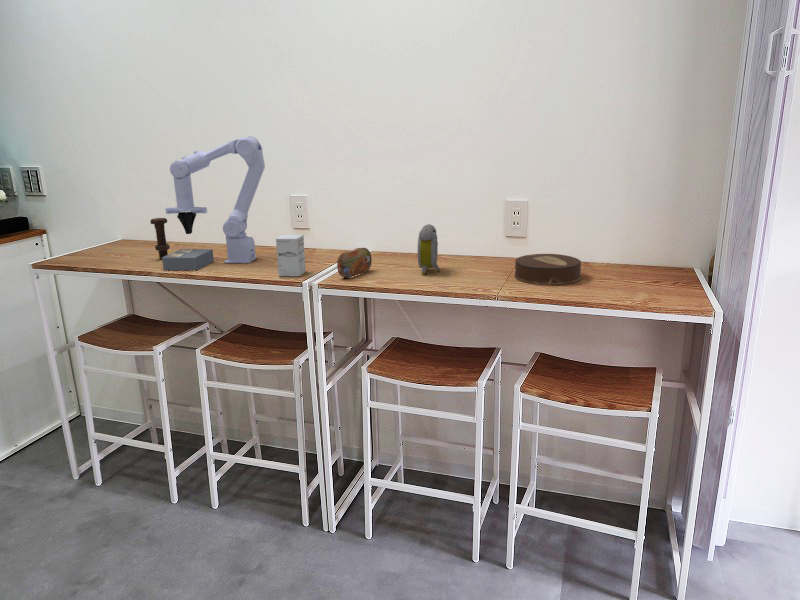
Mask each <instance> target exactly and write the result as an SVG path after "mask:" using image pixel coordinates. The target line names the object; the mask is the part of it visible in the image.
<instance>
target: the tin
mask: <svg viewBox="0 0 800 600" xmlns="http://www.w3.org/2000/svg"><path fill="white" fill-rule="evenodd" d="M336 265H337V272H338V274H339V276H340V277H342V278H345V277H346V279H351V278H350V277H352V276H355V275H358V274H361V275H363V274H362V273H364V274H366V273H367V272H369V270H370V269H371V268H372V267H371V266H372V255H371V252H370V250H369V249H368V248H367V247H357V248H354V249H350V250H348V251H343V252H342V253H340V254H339V256H338V258H337V261H336ZM365 272H366V273H365ZM358 276H359V275H358Z"/></svg>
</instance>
